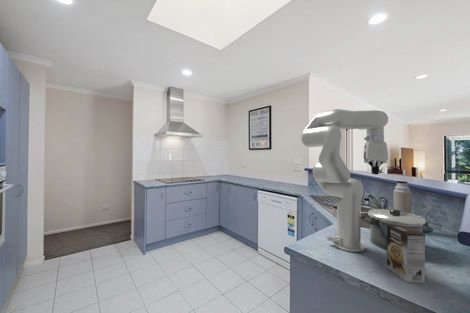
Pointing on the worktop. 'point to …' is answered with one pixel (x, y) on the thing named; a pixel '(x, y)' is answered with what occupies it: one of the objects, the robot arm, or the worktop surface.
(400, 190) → the thermos bottle
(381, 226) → the pot
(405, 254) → the coffee box
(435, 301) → the worktop surface
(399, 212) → the lid
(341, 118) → the robot arm
